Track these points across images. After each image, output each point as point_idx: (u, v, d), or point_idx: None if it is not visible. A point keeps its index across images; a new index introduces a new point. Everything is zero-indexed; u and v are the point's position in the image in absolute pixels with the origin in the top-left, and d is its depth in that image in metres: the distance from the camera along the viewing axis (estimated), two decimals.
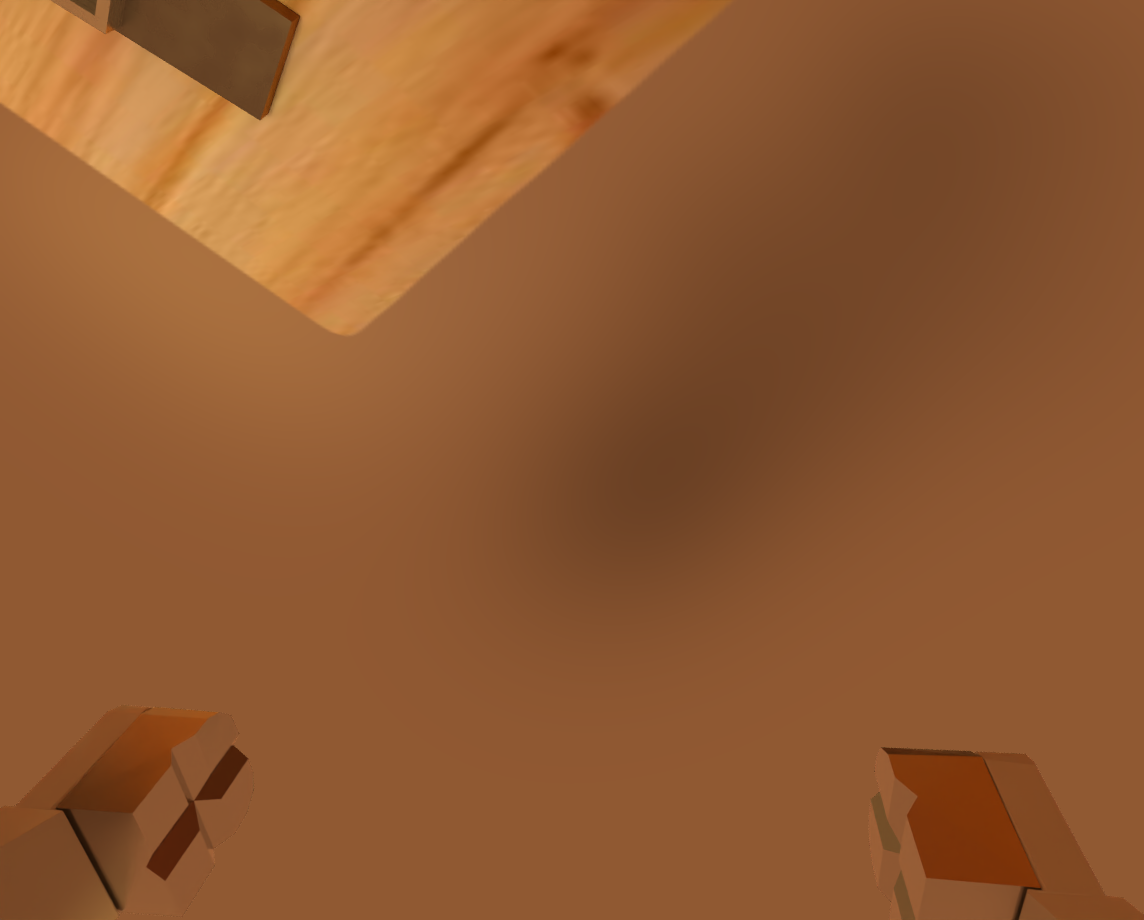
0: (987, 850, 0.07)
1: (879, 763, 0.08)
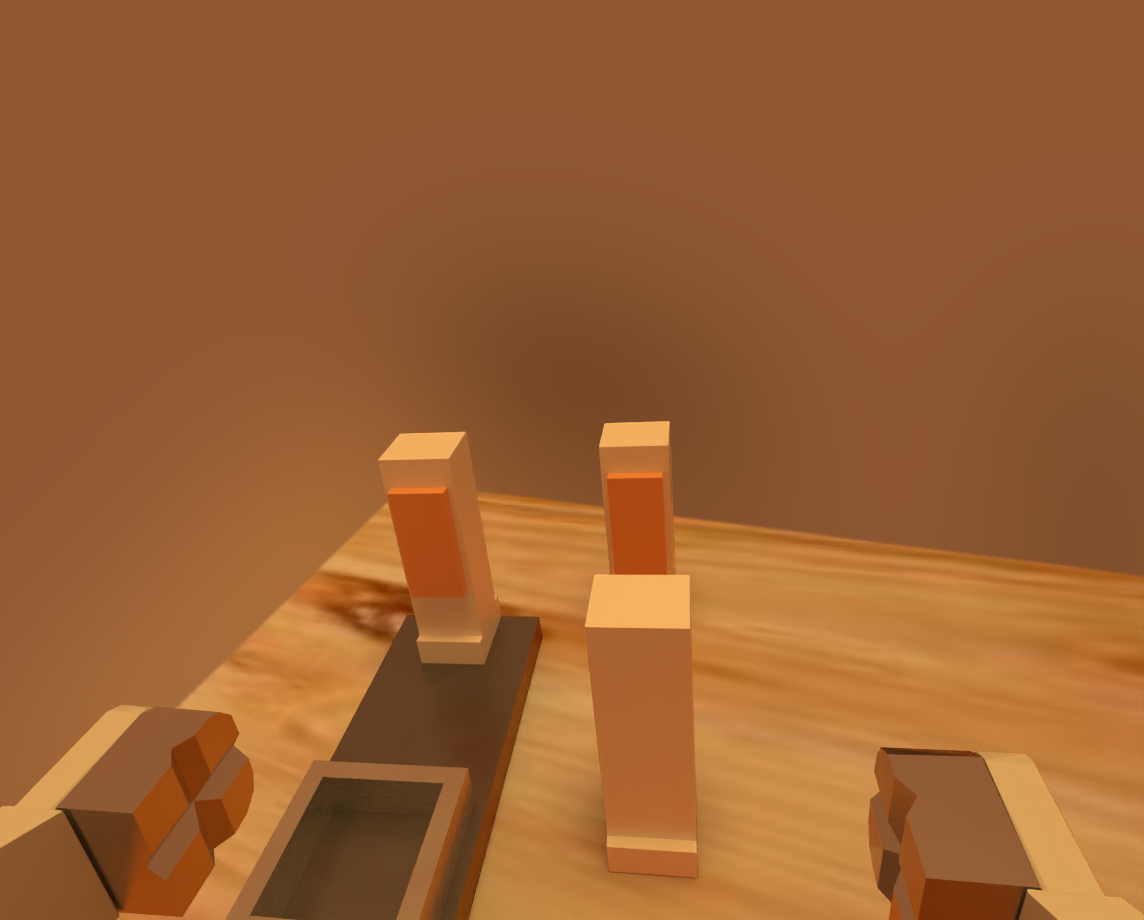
0: (987, 850, 0.07)
1: (879, 763, 0.08)
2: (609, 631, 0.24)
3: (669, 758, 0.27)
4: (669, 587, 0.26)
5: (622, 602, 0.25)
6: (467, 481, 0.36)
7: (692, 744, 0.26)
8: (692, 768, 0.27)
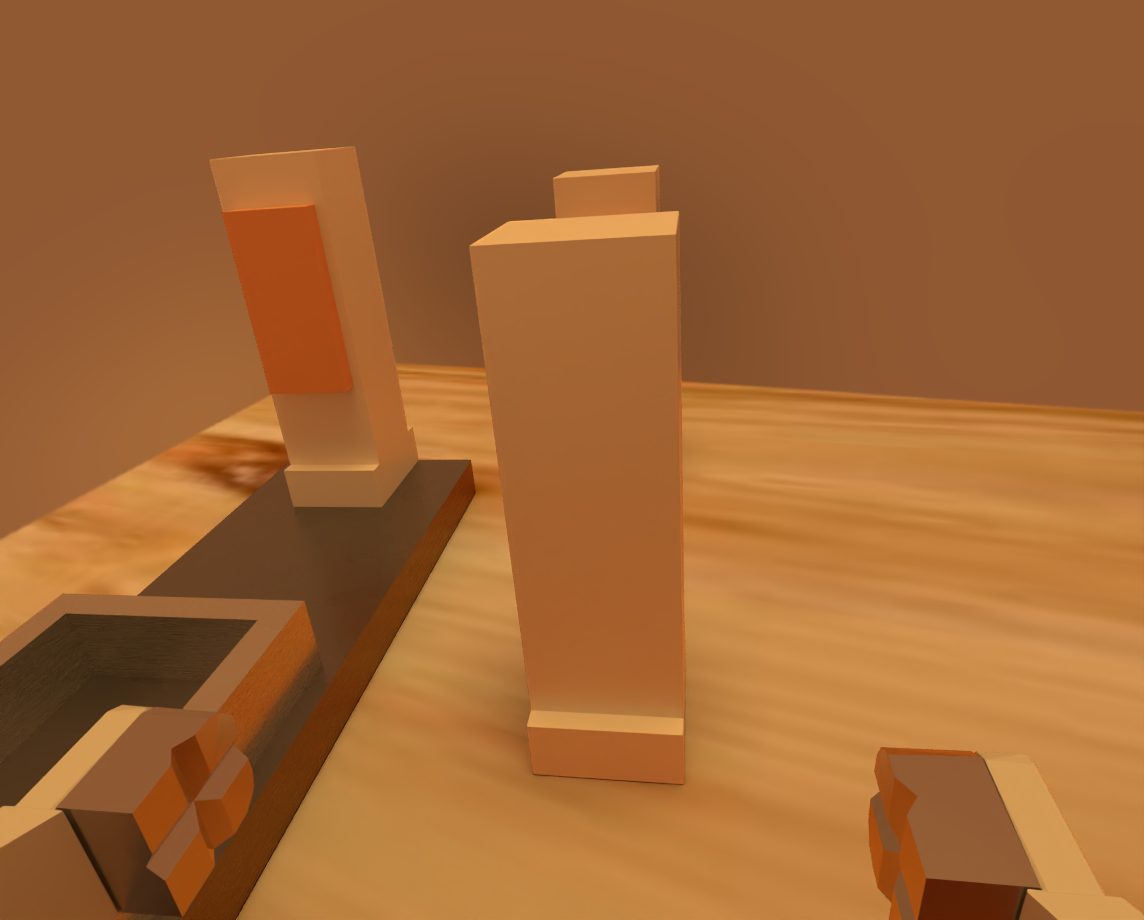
0: (987, 850, 0.07)
1: (879, 763, 0.08)
2: (517, 252, 0.12)
3: (635, 547, 0.15)
4: (640, 218, 0.14)
5: (550, 230, 0.13)
6: (355, 220, 0.25)
7: (678, 515, 0.14)
8: (677, 568, 0.15)
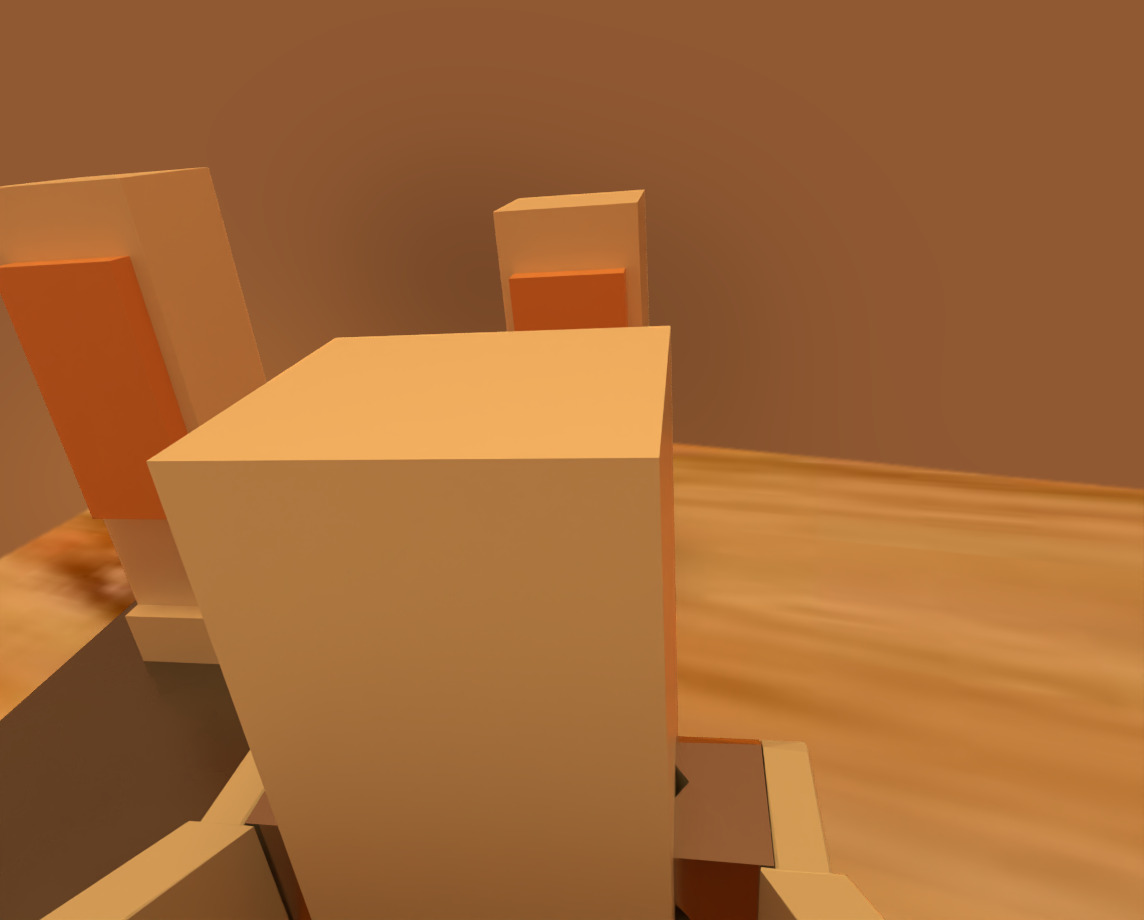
0: (736, 831, 0.07)
1: None
2: (261, 480, 0.05)
3: None
4: (588, 351, 0.07)
5: (381, 389, 0.06)
6: (209, 272, 0.17)
7: None
8: None
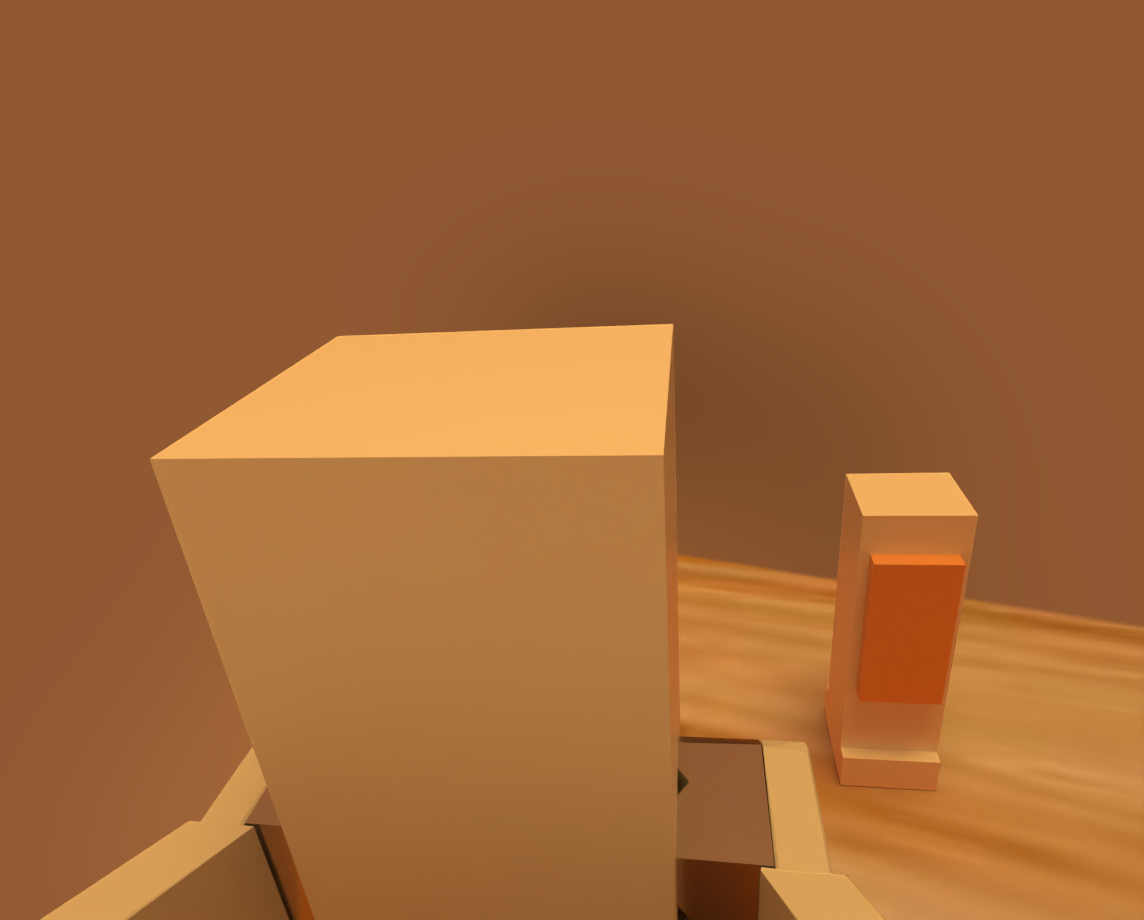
0: (736, 831, 0.07)
1: None
2: (266, 477, 0.05)
3: None
4: (591, 349, 0.07)
5: (384, 387, 0.06)
6: None
7: None
8: None
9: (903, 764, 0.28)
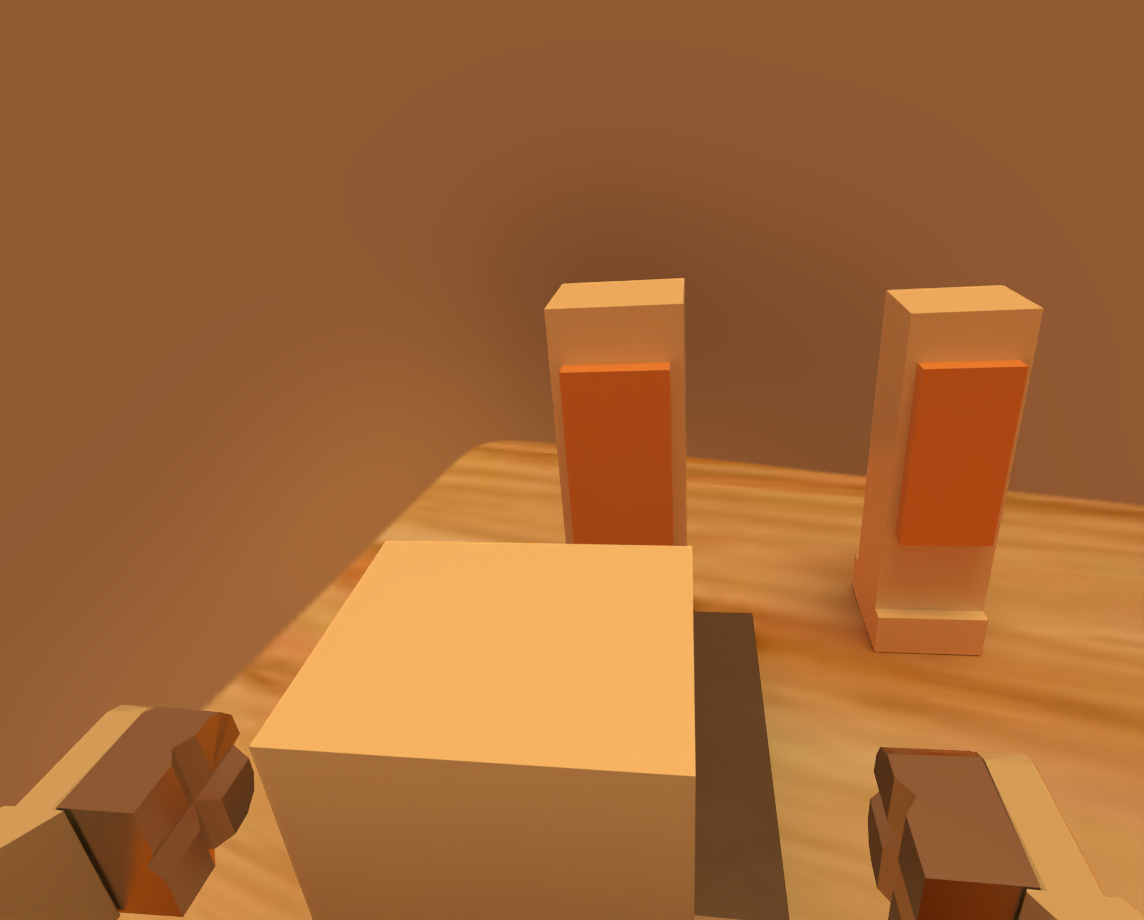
0: (987, 850, 0.07)
1: (879, 763, 0.08)
2: (349, 766, 0.06)
3: None
4: (620, 586, 0.07)
5: (441, 639, 0.07)
6: None
7: None
8: None
9: (946, 623, 0.25)
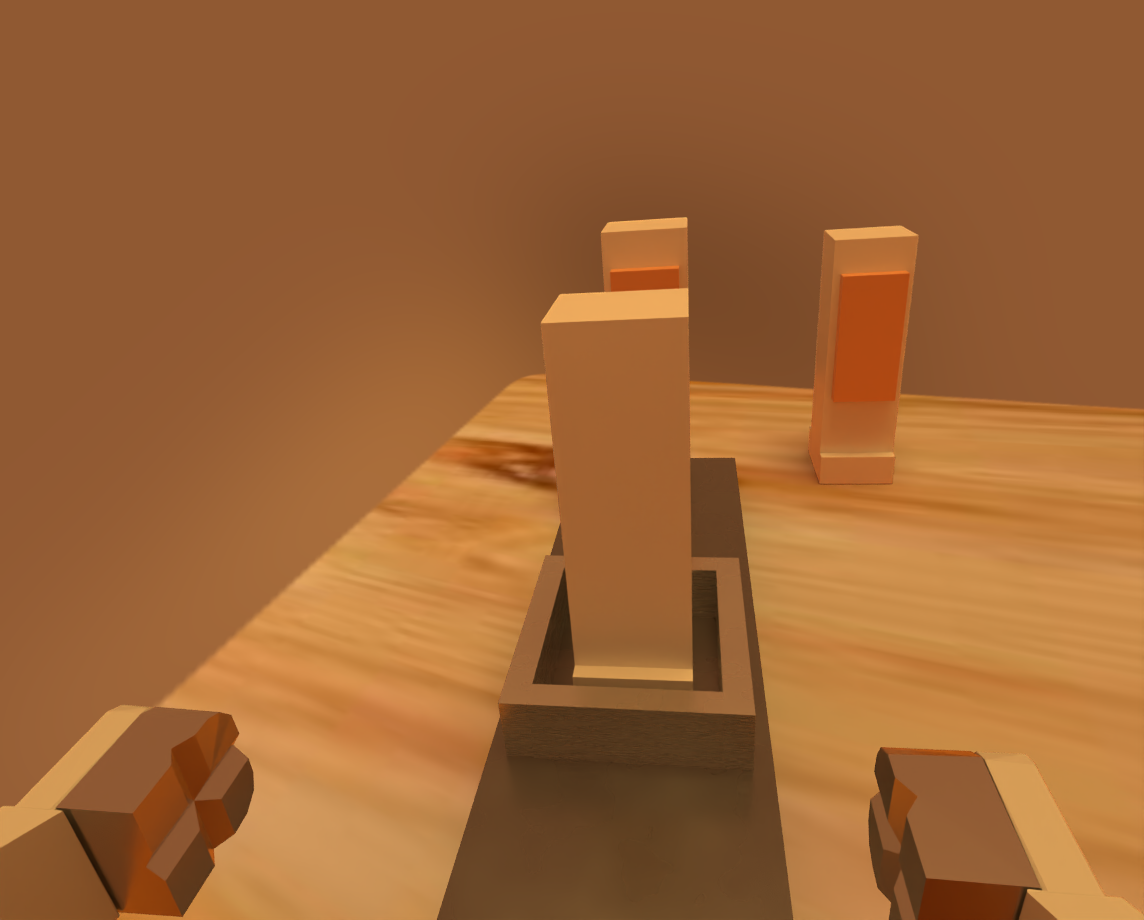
0: (987, 850, 0.07)
1: (879, 763, 0.08)
2: (574, 328, 0.17)
3: (657, 538, 0.20)
4: (660, 296, 0.19)
5: (595, 307, 0.18)
6: None
7: (689, 514, 0.19)
8: (688, 553, 0.20)
9: (867, 460, 0.36)
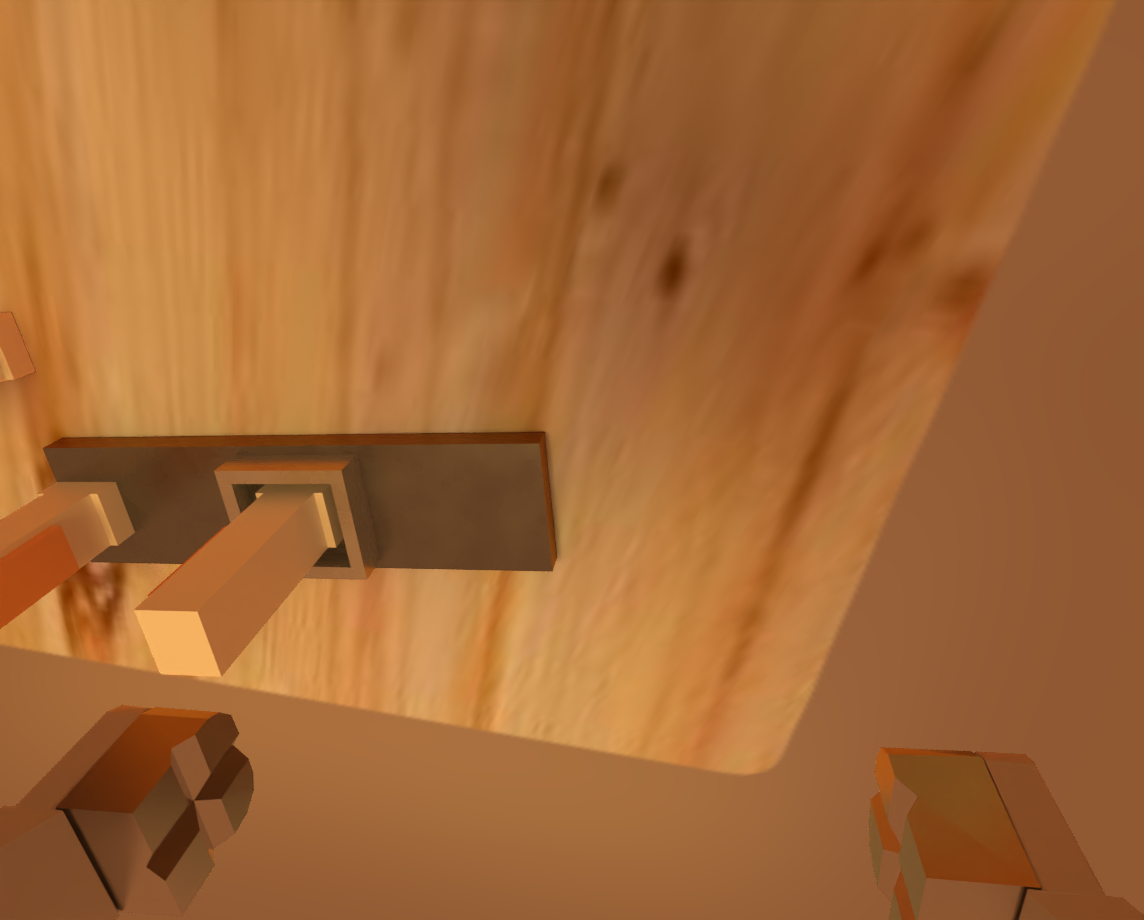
0: (987, 850, 0.07)
1: (879, 763, 0.08)
2: (217, 659, 0.32)
3: (276, 551, 0.36)
4: (155, 624, 0.31)
5: (185, 654, 0.32)
6: None
7: (263, 544, 0.35)
8: (276, 532, 0.36)
9: (1, 341, 0.40)
